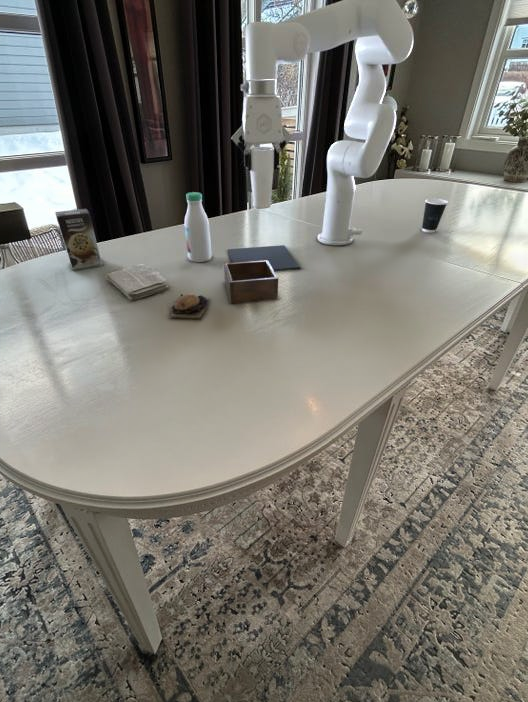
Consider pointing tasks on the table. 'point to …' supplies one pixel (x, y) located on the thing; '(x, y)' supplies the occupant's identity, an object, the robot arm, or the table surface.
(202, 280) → the table surface
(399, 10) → the robot arm
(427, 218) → the dixie cup
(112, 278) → the washcloth
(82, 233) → the cookie box
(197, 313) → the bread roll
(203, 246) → the milk bottle
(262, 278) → the box
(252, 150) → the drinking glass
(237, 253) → the mat
